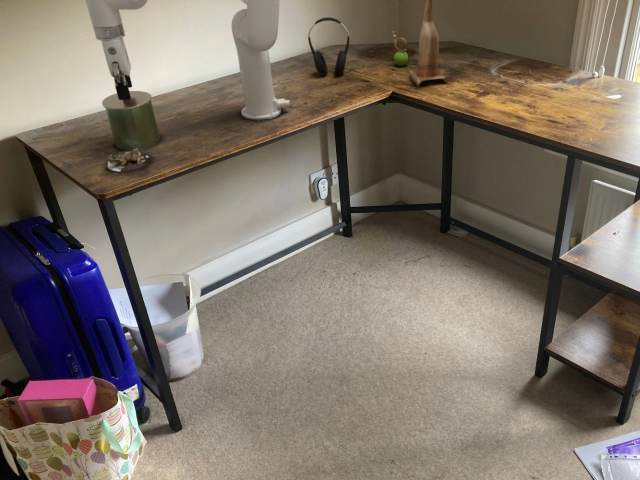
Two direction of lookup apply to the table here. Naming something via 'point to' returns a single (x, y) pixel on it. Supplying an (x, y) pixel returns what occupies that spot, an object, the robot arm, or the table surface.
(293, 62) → the table surface
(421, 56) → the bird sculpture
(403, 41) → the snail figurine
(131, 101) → the lid
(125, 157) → the frog figurine
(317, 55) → the headphones
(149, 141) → the pot
